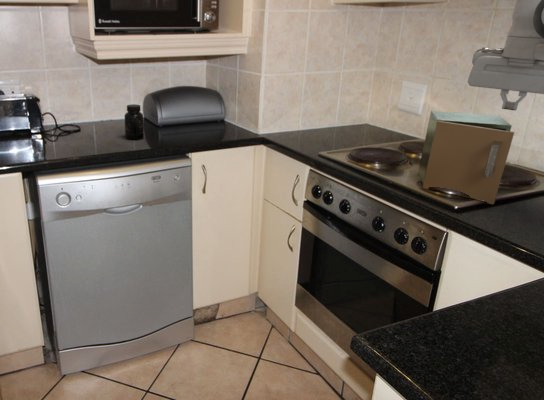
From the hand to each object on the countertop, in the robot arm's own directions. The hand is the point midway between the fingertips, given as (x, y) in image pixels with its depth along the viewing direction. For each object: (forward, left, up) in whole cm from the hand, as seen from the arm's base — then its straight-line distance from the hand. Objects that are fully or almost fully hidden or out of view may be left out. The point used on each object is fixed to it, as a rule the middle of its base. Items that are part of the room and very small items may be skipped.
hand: (508, 109), depth 116 cm
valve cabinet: (+6, -10, -24) cm, 26 cm away
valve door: (+8, +3, -23) cm, 25 cm away
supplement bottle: (+110, -23, -24) cm, 115 cm away
